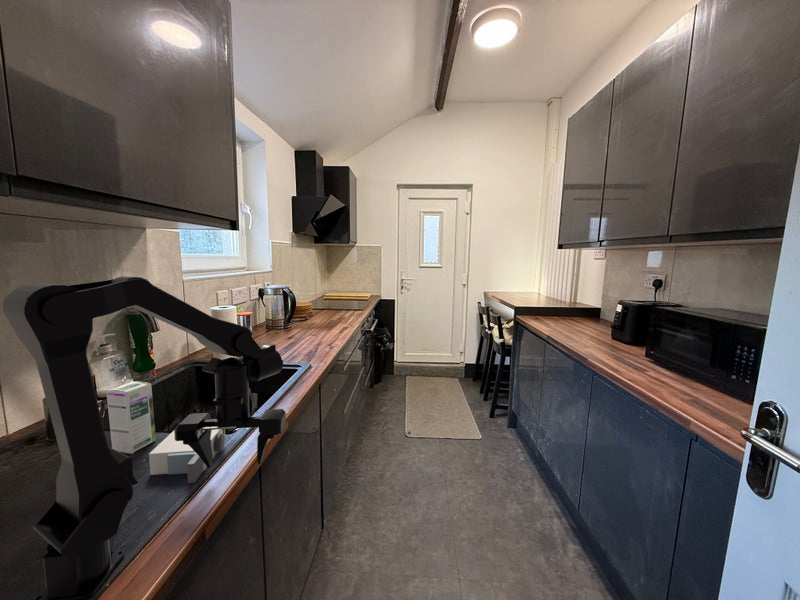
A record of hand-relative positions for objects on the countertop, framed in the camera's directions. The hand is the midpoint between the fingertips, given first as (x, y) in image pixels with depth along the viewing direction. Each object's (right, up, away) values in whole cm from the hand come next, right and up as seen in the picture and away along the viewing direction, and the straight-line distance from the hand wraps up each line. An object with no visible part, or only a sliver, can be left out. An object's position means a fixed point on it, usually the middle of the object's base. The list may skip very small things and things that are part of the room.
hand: (235, 464), depth 63 cm
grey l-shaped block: (-10, -2, -1) cm, 10 cm away
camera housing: (-13, -2, +6) cm, 15 cm away
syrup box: (-29, -1, +11) cm, 31 cm away
